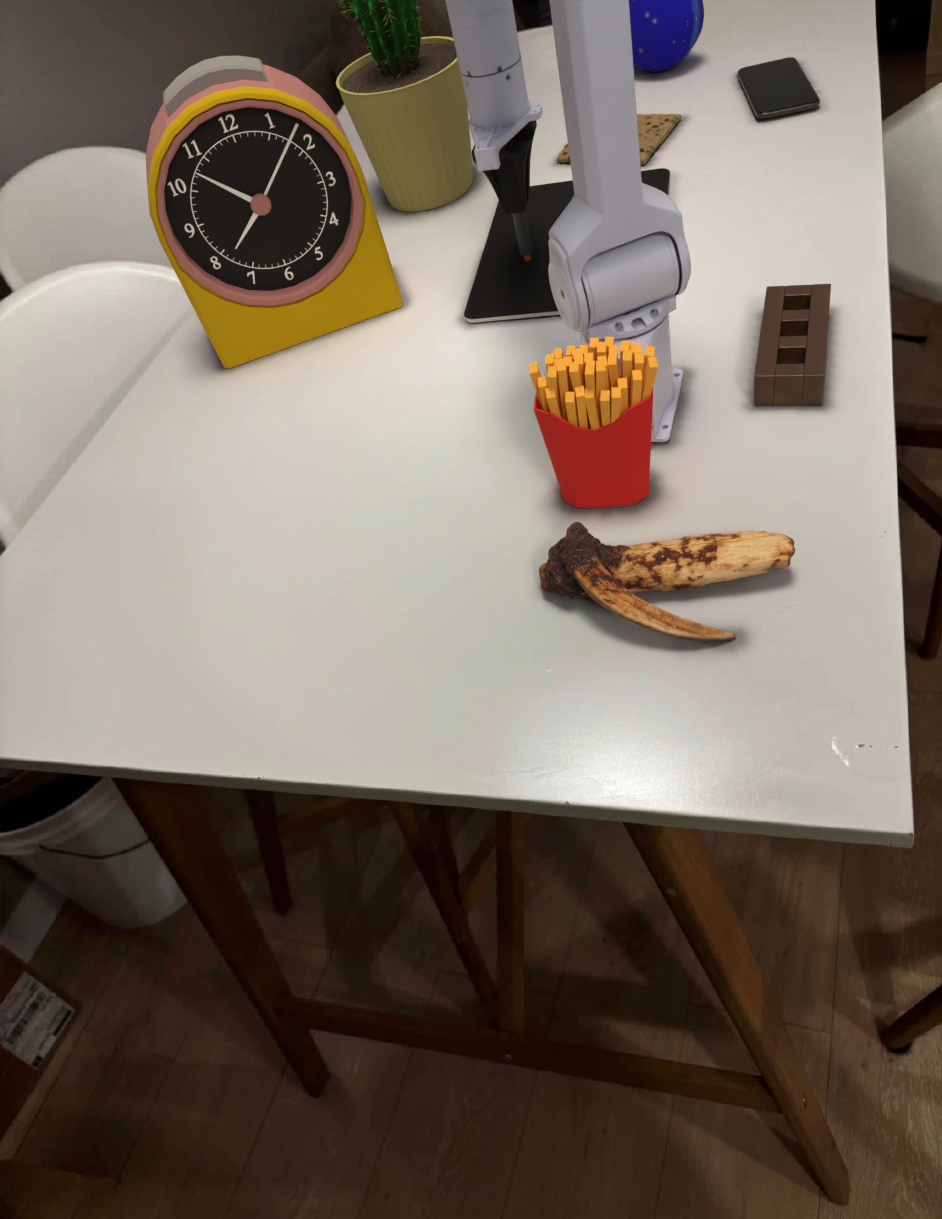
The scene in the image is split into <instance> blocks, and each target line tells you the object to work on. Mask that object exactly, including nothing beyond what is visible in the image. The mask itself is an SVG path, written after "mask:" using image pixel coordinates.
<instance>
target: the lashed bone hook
mask: <svg viewBox="0 0 942 1219" xmlns="http://www.w3.org/2000/svg"><path fill="white" fill-rule="evenodd" d="M795 553H796V548H795V541H794V538H792V537H790V536H788V535H786V534H783V533H779V532H774V531H771V532H770V531H766V530H760V531H759V530H747V531H746V530H745V531H743V530H742V531H733V532H732V531H731V532H717V533H704V534H699V535H698V534H697V535H688V536H683V537H681V538H673V539H667V540H656V541H651V542H650V541H649V542H642V543H638V544H632V545H631V544H630V545H626V544H625V545H624V544H618V545H611V544H605V543H602V542H601V540H600V539H599V538H597V537H594V536H593V535H592V533H590V532H589V530H588V528H587V527H586V526H584V524H583V523H582V522H579V521H575V522H572V523H570V525H569V526H568V527H567V528H566V533H565V536H563V537H561V538H560V539H559V540H558V541H557V542H556V543H555V544H553V545H552V546H551V547H550V548H549V549H548V554H547V557H548V559H547V560H546V562H545V563H542V564H541V565H540V566H539V567H538V574H539V575H538V576H539V581H540V582H539V583H540V588H541V590H542V591H543V592H545V593H549V594H550V593H552V594H553V595H561V597H562V598H568V599H570V600H573V599H583V598H586V597H590V598H591V599H592V600H593V601H594V602H595V603H596V604H598V605H599V606H600V607H602V608H604V609H606V610H607V611H608V612H610V613H611V614H614V615H615V616H617V617H619V618H621V619H623V620H625V621H627V622H630V623H632V624H635V625H637V626H639V627H642V628H644V629H647V630H649V631H652V632H655V633H657V634H658V633H659V634H662V635H664V636H668V637H673V638H676V639H682V640H686V641H695V642H702V643H703V642H704V643H707V642H714V643H715V642H725V641H729V640H733V639H735V638H736V637H737V634H736V633H734V632H731V631H727V630H723V629H721V628H715V627H712V626H708V625H705V624H702V623H700V622H695V621H693V620H689V619H687V618H683V617H681V616H679V615H676V614H674V613H671V612H669V611H667V610H664V609H663V608H660V607H658V606H656V605H654V604H652V603H649V602H647V601H646V600H644V599H642V598H640V597H639V596H637V595H635V593H644V592H655V591H662V592H669V591H679V590H690V589H691V590H694V589H698V588H702V587H704V586H705V585H709V584H715V583H721V582H727V581H728V582H732V581H734V580H738V579H743V578H745V577H752V576H757V575H762V574H768V573H769V572H770V570H771V568H778V569H780V570H785V569H787V568H788V567H790V565H791V563H792V562H791V560H792V557H793V556H795Z"/></svg>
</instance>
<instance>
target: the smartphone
mask: <svg viewBox="0 0 942 1219" xmlns="http://www.w3.org/2000/svg"><path fill="white" fill-rule="evenodd" d="M736 75H737V78H738V81H739V83H740V84H741V86H742V89H743V92H744V93H745V95H746V97H747V100H748V103H749V104H750V106H751V109H752V111H753V113H754V115H755V117H756V118H758V119H759V120H764V119H769V118H775V117H779V116H780V117H781V116H784V115H789V114H793V113H798V112H802V111H808V110H812V109H815V108H818V107H819V106H820V104H821V99H820V97H819V95H818V93H817V92H816V90H815V88H814V86H813V85H812V83H811V81H810V80H809V78H808V76H807V75H806V73H805V71H804V70H803V68H802V67H801V65H800V63H799V61H798V60H797V58H796V57H794V56H788V57H783V58H780V59H774V60H770V61H766V62H762V63H761V62H760V63H757V64H753V65H747V66H744V67H740V68H739V69H738V71H737V74H736Z"/></svg>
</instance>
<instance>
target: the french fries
mask: <svg viewBox="0 0 942 1219" xmlns="http://www.w3.org/2000/svg"><path fill="white" fill-rule="evenodd" d="M552 350H553V351H552V353H550V354H545V356H544V357H545V359H544V366H545V371H546V375H544V376H542V374H541V370H540V366H539V363H538V361H536V362H535V361H534V362H532V363H530V362H529V363H528V370H529V377H530V379H531V382H532V385H533V388H534V390H535V392H534V393H535V394H534V401H533V402H534V403H533V413H534V415H535V418H536V420H537V424H538V427H539V430H540V433H541V436H542V439H543V442H544V445H545V447H546V450H547V454H548V457H549V460H550V462H551V466H552V469H553V471H554V474H555V477H556V481H557V482H558V483H557V484H558V486H559V489H560V492H561V495H562V499H563V501H564V502H566V503H567V504H569V505H571V506H573V507H575V508H577V509H595V508H596V509H597V508H611V507H622V506H623V507H624V506H632V505H635V504H637V503H638V502H640V501H641V500H643V499H645V498H646V497H648V496H649V495H650V494H649V493H650V477H651V476H650V474H651V452H652V451H651V450H652V442H651V434H652V412H653V385H654V381H655V377H656V374H657V370H658V362H657V357H654V352H655V347H653V346H647V345H646V350H645V355H644V352H642V353H641V343H632V348H631V340H628V341H621V343H620V362H621V374H620V371H619V365H618V345H614V337H607V336H605V342H599V338H590V344H589V345H582V344H579V348H577V345H576V344H572V345H571V344H570V345H566V351H565V355H564V352H563V348H562V347H561V348H553V349H552Z"/></svg>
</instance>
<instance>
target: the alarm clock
mask: <svg viewBox="0 0 942 1219" xmlns="http://www.w3.org/2000/svg"><path fill="white" fill-rule="evenodd" d="M162 99H163V100H162V101H163V103H162V105H161V107H160V109H159V111H158V112H157V114H156V116H155V118H154V120H153V122H152V124H151V127H150V130H149V136H148V141H147V146H146V152H145V171H146V172H145V174H146V189H147V199H148V211H149V212H148V214H149V216H150V219H151V222H152V224H153V227H154V230H155V234H156V235H157V237H158V241H159V243H160V246H161V247H162V250H163V251H164V253H165V255H166V257H167V260H168V261H169V264H170V265H171V267H172V269H173V271H174V273H175V274H176V277H177V280H178V281H179V282H180V285H181V287H182V289H183V290H184V292H185V294H186V296H187V298H188V300H189V302H190V304H191V306H192V308H193V310H194V312H195V314H196V316H197V318H198V320H199V321H200V324H201V326H202V328H203V330H204V332H205V333H206V335H207V338H208V339H209V341H210V343H211V345H212V347H213V350H214V351H215V353H216V355H217V357H218V359H219V361H220V363H221V365H222V366H223V368H224V369H232V368H235V367H238V366H240V365H243V364H246V363H248V362H251V361H255V360H257V359H260V358H263V357H266V356H269V355H271V354H274V353H276V352H280V351H282V350H285V349H288V348H290V347H293V346H297V345H299V344H302V343H304V342H308V341H310V340H314V339H316V338H319V337H321V336H324V335H327V334H330V333H332V332H333V333H334V332H336V331H339V330H341V329H344V328H347V327H350V326H352V325H355V324H358V323H361V322H363V321H366V320H370V319H372V318H375V317H378V316H380V315H383V314H386V313H388V312H391V311H394V310H398V309H400V308H401V307H403V305H404V300H403V297H402V293H401V290H400V287H399V284H398V281H397V278H396V274H395V271H394V268H393V264H392V262H391V261H392V260H391V258H390V256H389V252H388V249H387V245H386V242H385V239H384V236H383V232H382V229H381V226H380V223H379V219H378V216H377V213H376V209H375V206H374V203H373V200H372V197H371V193H370V190H369V187H368V184H367V181H366V178H365V175H364V171H363V168H362V166H361V164H360V162H359V159H358V157H357V155H356V153H355V151H354V148H353V146H352V144H351V142H350V141H349V138H348V136H347V134H346V132H345V130H344V128H343V126H342V123H341V122H340V120H339V118H338V116H337V114H335V112H334V111H333V109H332V108H331V107H330V106H329V105H328V104H327V102H326V101H325V99H323V97H322V96H321V95H320V93H318V92H316V90H314V89H313V88H311V87H310V86H309V85H307V84H306V83H304V82H303V81H302V80H301V79H299V78H298V77H297V76H296V75H292V74H291V73H288V72H285V71H284V70H283V71H282V70H281V69H278V68H275V67H272V66H270V65H268V64H263V62H262V59H260V58H258V57H253V56H245V55H219V56H215V57H210V58H206V59H204V60H203V59H202V61H200V62H197V63H195V64H193V65H190V66H189V67H188V68H187V69H185V70H184V71H182V72H181V73H180V74H179V75H177V77H175V78H174V79H173V81H171V83H170V84H169V85H168V86H167V87H166V88H165V89H164V91H163V93H162Z"/></svg>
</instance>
